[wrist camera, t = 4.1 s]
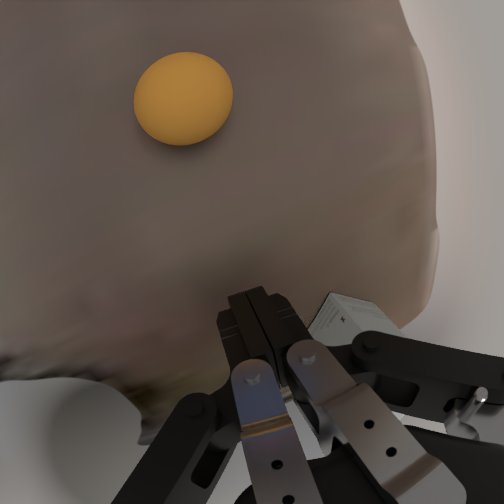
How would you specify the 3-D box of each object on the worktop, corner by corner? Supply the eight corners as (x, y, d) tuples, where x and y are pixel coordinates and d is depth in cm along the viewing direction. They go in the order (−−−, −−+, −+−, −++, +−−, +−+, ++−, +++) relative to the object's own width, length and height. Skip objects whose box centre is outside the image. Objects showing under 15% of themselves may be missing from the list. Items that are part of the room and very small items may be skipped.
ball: (132, 76, 14) (117, 58, 9) (214, 56, 15) (232, 31, 10) (149, 152, 17) (141, 164, 12) (230, 131, 18) (253, 134, 13)
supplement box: (328, 289, 27) (408, 382, 16) (373, 301, 30) (444, 375, 19) (293, 345, 29) (348, 440, 18) (340, 349, 32) (395, 426, 21)
